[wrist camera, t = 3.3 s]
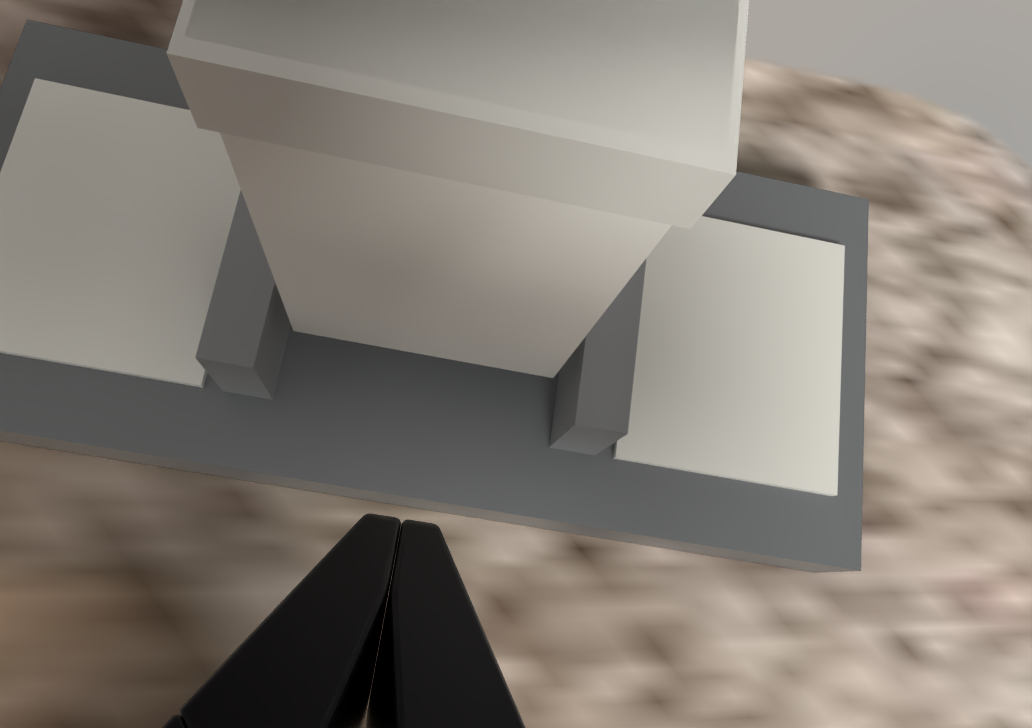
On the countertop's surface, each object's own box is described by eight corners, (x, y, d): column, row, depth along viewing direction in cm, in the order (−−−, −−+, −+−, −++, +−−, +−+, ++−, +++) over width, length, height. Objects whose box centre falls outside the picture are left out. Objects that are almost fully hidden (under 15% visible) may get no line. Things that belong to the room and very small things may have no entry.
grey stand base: (814, 572, 19) (934, 567, 15) (-66, 430, 17) (-216, 378, 13) (827, 233, 22) (933, 146, 18) (61, 74, 20) (-28, -67, 16)
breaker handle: (556, 388, 16) (735, 174, 8) (285, 339, 15) (166, 52, 7) (572, 275, 16) (750, -33, 8) (313, 224, 16) (233, -159, 8)
